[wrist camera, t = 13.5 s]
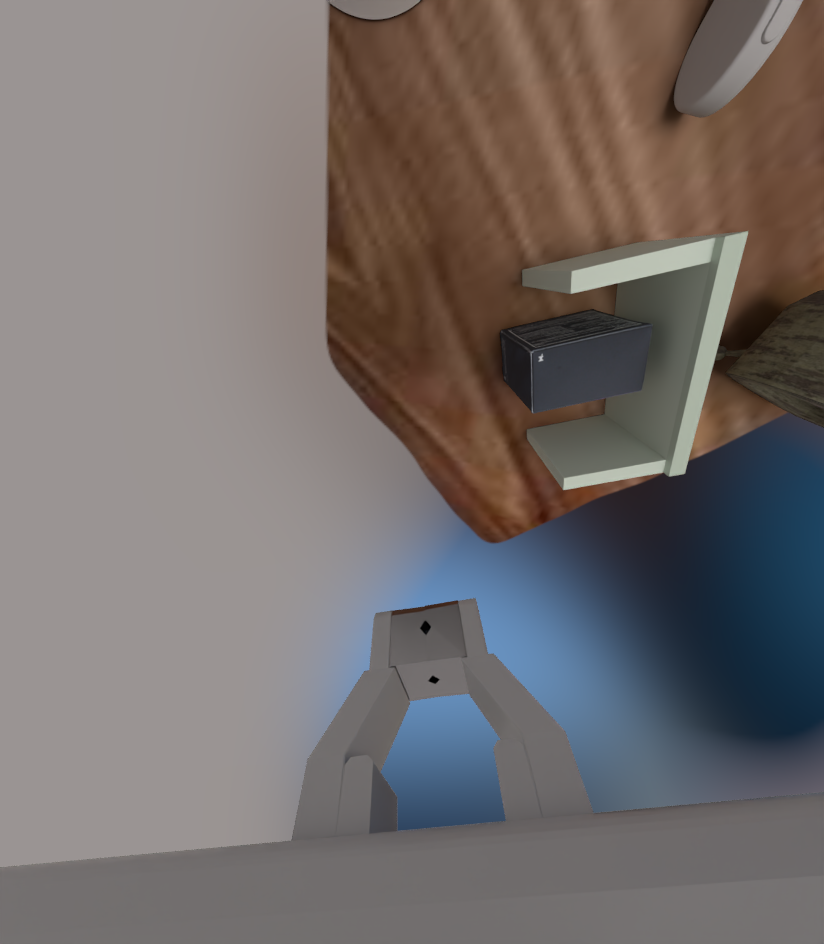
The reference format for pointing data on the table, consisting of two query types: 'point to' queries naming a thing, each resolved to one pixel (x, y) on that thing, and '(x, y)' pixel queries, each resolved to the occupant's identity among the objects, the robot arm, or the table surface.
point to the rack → (669, 358)
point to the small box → (575, 359)
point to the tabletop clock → (787, 360)
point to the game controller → (729, 51)
